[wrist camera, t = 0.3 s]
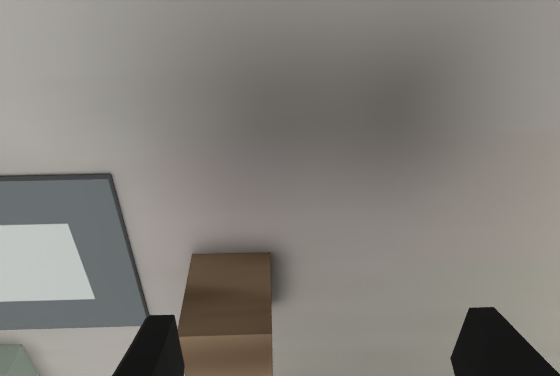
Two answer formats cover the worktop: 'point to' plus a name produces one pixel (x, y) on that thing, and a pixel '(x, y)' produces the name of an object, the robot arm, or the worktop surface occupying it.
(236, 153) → the worktop surface
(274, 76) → the worktop surface
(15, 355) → the block sage
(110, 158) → the worktop surface
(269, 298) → the block walnut
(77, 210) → the pad
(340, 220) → the worktop surface
